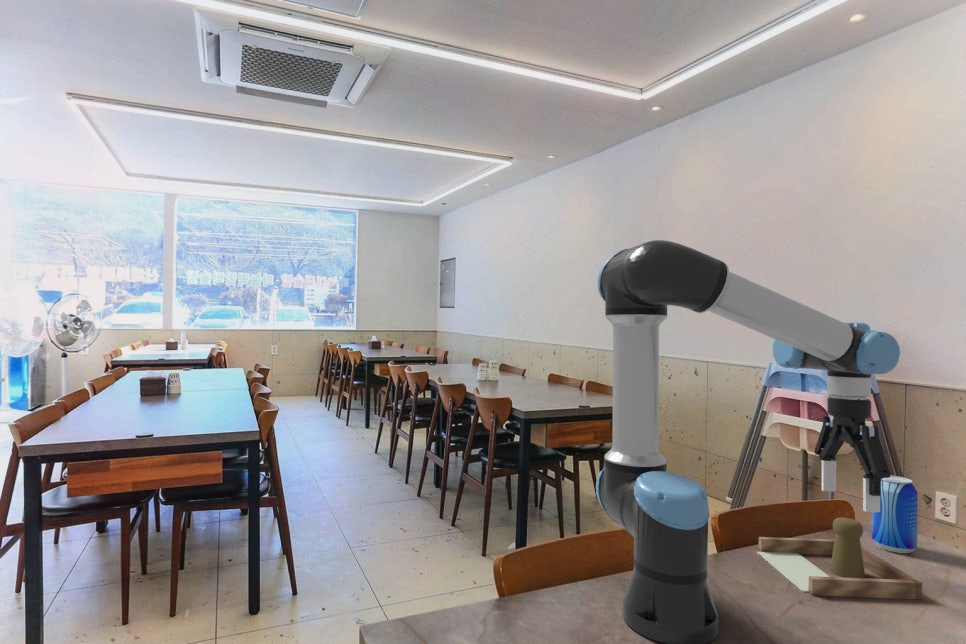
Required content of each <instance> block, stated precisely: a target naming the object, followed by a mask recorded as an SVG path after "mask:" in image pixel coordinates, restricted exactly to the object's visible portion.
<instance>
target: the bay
mask: <svg viewBox="0 0 966 644" xmlns="http://www.w3.org/2000/svg"><path fill="white" fill-rule="evenodd" d="M834 542H835V539H825V538H823V539H822V538H819V539H818V538H804V537H803V538H802V537H801V538H800V537H799V538H798V537H792V538H791V537H775V536H774V537H773V536H772V537H771V536H768V537H767V536H758V552H781V553H798V554H800V555H815V556H816V555H820V556H823V555H824V556H832V554H833V548H834ZM861 551H862V558H863V565H864V568H865V569H868V570H869V571H871V572H872V573H874V575H877V576H878V577H880V578H869V577H868V578H866V577H865V578H844V577H840V576H837V577H836V576H830V577H817V576H809V592H808V593H809V594H810V595H811V596H821V597H825V596H826V597H845V598H846V597H847V598H871V599H872V598H874V599H875V598H876V599H894V600H895V599H896V600H897V599H899V600H901V599H902V600H921V601H922V600H923V582H921V581H919V580H917V579H916V578H914V577H912V576H911V575H909V574H907V573H906V572H904V571H902V570H900V569H899V568H897V567H895V566H894V565H892V564H890V563H889V562H887V561H885V560H883V559H882V558H880V557H879V556H877V555H876V554H873V553H872V552H870V551H868V550H866V548H863V547H862V546H861Z"/></svg>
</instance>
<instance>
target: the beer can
mask: <svg viewBox="0 0 966 644" xmlns="http://www.w3.org/2000/svg"><path fill="white" fill-rule="evenodd" d="M871 540H872V541H873V542H874V543H875V546H876V547H877V546H878V548H879V549H881V548H882V550H884V549H885V550H884V551H887V550H888V551H887V552H890V551H893V552H892V553H894V552H899V553H898V554H901V553H911V552H913V553H914V551H915V550H916V549H918V491H917V489H916V487H915V486H914V485H913V480H912V479H909V478H906V477H903V476H897V475H892V474H890V477H889V478H883V479H881V495H880V512H871ZM911 554H912V553H911Z"/></svg>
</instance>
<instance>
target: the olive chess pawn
mask: <svg viewBox="0 0 966 644" xmlns="http://www.w3.org/2000/svg"><path fill="white" fill-rule="evenodd" d="M863 527H864V526H863V525H862V524H861V522H859V521H858V520H856V519H853V518H848V517H836V518H834V520H833V522H832V529H833V531H834V533H835V535H834V540H835V542H834V548H833V554H832V555H831V561H830V567H829V571H830V573H832V574H834V575H836V576H837V577H844V578H866V573H865V567H864V565H863V558H862V551H861V547H862V546H861V538H862V536H863V534H864V528H863Z"/></svg>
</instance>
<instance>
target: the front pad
mask: <svg viewBox="0 0 966 644" xmlns="http://www.w3.org/2000/svg"><path fill="white" fill-rule="evenodd" d="M756 553H757V554H758V555H759V554H760V555H761V556H762V557H761V556H760V555H759V556H760V557H761V558H763V559H764V561H766V562H767V561H768V562H767V563H768V564H770V565H771V566H772V567H773V568H774V569H775V570H777V571H778V572H779V573H780V574H781V575H783V576H784V577H785V578H786V579H787V580H788V581H790V582H791V583H792V584H793V585H794V586H796V587H797V588H798V589H799V590H800V591H801V592H803V593H805V592H806V593H809V576H817V577H831V576H830V575H829V574H828V573H826V572H824V571H823V570H821V569H820V568H819V567H817V566H816V565H815V564H813V563H812V562H811V561H810V560H808V559H807V558H805V557H803V555H802V554H798V553H781V552H760V551H756Z"/></svg>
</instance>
